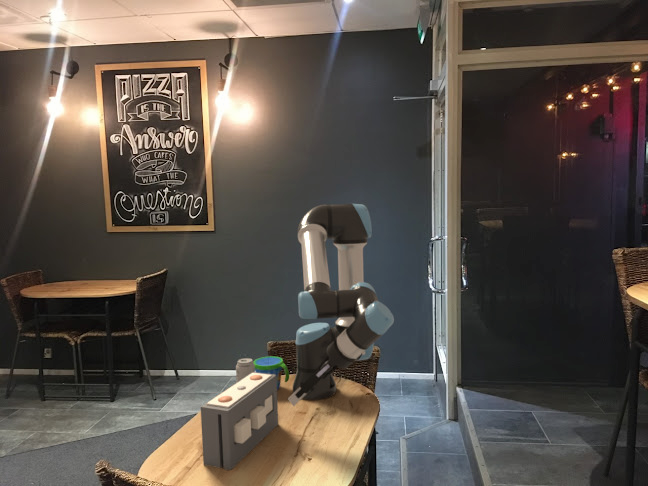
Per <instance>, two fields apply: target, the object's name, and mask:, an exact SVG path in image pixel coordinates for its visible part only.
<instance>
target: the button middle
mask: <svg viewBox="0 0 648 486" xmlns="http://www.w3.org/2000/svg"><path fill="white" fill-rule="evenodd" d="M250 419H251V428H253V429H259V428H260V427H261V426H262V425H264V424H265V423H266V408H265V407H264V406H256V407H255V408H254V409H252V410H251V411H250Z"/></svg>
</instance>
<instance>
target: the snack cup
mask: <svg viewBox="0 0 648 486" xmlns="http://www.w3.org/2000/svg"><path fill="white" fill-rule="evenodd" d="M253 363H254V365H255V372H257V373H265V374H274V375H276V378H277V390H279V389H280V387H281V381H282V380H281V379H282V373H283V372H282V370H283V371H284V374H285V376H284V383H288V381H289V380H290V372H289V369H288V365H286V364H285V363H284V360H283V358H282V357H279V356H271V355H270V356H263V357H259V358H256V359H254V361H253Z"/></svg>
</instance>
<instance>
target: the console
mask: <svg viewBox="0 0 648 486" xmlns="http://www.w3.org/2000/svg"><path fill="white" fill-rule="evenodd" d="M252 373H257V372H252ZM250 374H251V373H250ZM250 374H249V375H250ZM260 374H265V373H260ZM268 375H272V376H271V377H270V378H269V379H267V380H266V381H264V382H263V383H262V384H260V385H259V386H258V387H256V388H255V389H254V390H252V391H251V392H250V393H248V394H247V395H245V396H244V397H243V398H241V399H240V400H239V401H237V402H236V403H235V404H233V405H232V406H231V407H229V408H224V407H218V406H211V405H207V403H208V402H209V401H211V400H212V399H214V398H215V397H217V396H218V395H220V394H221V393H223V392H224V391H226V390H227V389H229V388H230V387H232V386H233V385H235V384H236V383H238V382H239V381H238V382H237V381H236V383H234V384H233V385H231V386H229V387H228V388H226V389H225V390H223V391H222V392H221V393H219V394H218V395H216V396H215V397H213V398H212V399H210V400H209V401H207V402H205V403H204V404H203V405H201V406H200V419H201V420H200V421H201V422H200V424H201V440H202V443H201V444H202V461H203V465H204V466H208V467H209V466H210V467H213V468H220V469H221V468H222V467H223V470H227V471H231V470H232V469H233V468H234V467H235V466H237V465H238V464H239V462H241V461H242V459H244V458H245V457H246V456H247V455H248V454H249V453H250V452H251V451H252V450H253V449H254V448H255V447H256V446H257V445H258V444H260V442H262V441H263V440H264V439H265V438H266V436H268V435H269V434H270V433H271V432H272V431H273V430H274V429H275V428H276V427H277V426H278V425H279V410H278V409H279V408H278V407H279V406H278V405H279V404H278V389H277V378H276V375H274V374H268ZM247 376H248V375H247ZM247 376H246V377H247ZM244 378H245V377H244ZM244 378H243V379H244ZM241 380H242V379H241ZM241 380H240V381H241ZM270 395H272V406H273V409H272V410H271V411H270V412H269V413H268V414H267V415H266V423H265V424H264V425H262V426H261V427H260V428H259V429H253V428H251V436H250V437H249V438H248V439H247V440H246V441H245V442H244V443H243V444H242V443H236V442H234V424H235V423H236V422H237V421H239V420H240V419H241V418H246V419H250V411H251V410H252V409H254V408H255V407H256V406H264V407H265V402H264V400H265V399H266V398H267V397H268V396H270Z"/></svg>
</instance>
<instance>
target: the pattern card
mask: <svg viewBox="0 0 648 486" xmlns="http://www.w3.org/2000/svg"><path fill="white" fill-rule="evenodd" d="M271 376H272V375H268V374H260V373H251V374H250V375H248V376H247V377H245V378H244V379H242V380H241V381H239V382H238V383H237V382H236V384H235V383H234V384H235V385H234V384H233V386H232V385H231V386H232V387H231V386H229V387H230V388H229V387H228V388H229V389H228V388H226V389H227V390H226V389H225V390H226V391H225V390H223V391H224V392H223V391H222V392H223V393H222V392H221V393H219V394H220V395H219V394H218V395H216V396H217V397H216V396H215V397H213V398H214V399H213V398H211V399H210V400H211V401H210V400H209V401H207V402H208V403H207V402H206V403H207V405H211V406H218V407H224V408H229V407H231V406H232V405H233V404H235V403H236V402H237V401H239V400H240V399H241V398H243V397H244V396H245V395H247V394H248V393H250V392H251V391H252V390H254V389H255V388H256V387H258V386H259V385H260V384H262V383H263V382H264V381H266V380H267V379H269V378H270V377H271Z"/></svg>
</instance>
